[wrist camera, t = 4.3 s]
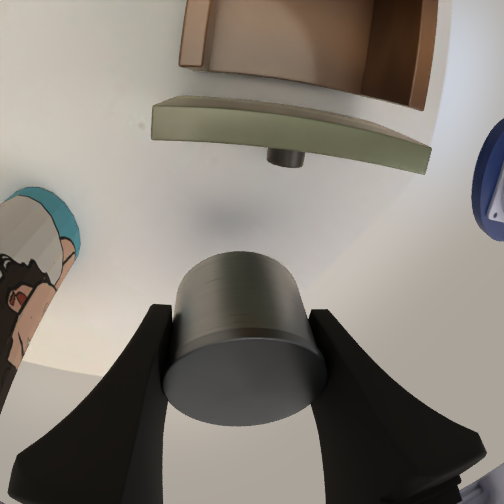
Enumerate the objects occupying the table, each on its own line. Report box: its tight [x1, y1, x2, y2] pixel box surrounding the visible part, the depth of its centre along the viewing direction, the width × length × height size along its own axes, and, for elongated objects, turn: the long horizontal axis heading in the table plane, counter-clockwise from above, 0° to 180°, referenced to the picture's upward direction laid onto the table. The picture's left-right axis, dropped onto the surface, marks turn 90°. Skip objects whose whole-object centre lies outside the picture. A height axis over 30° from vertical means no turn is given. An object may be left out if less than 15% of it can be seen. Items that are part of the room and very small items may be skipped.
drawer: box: [151, 0, 438, 175], centre depth 9 cm, size 15×10×6 cm
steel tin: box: [162, 251, 328, 426], centre depth 10 cm, size 5×5×4 cm
